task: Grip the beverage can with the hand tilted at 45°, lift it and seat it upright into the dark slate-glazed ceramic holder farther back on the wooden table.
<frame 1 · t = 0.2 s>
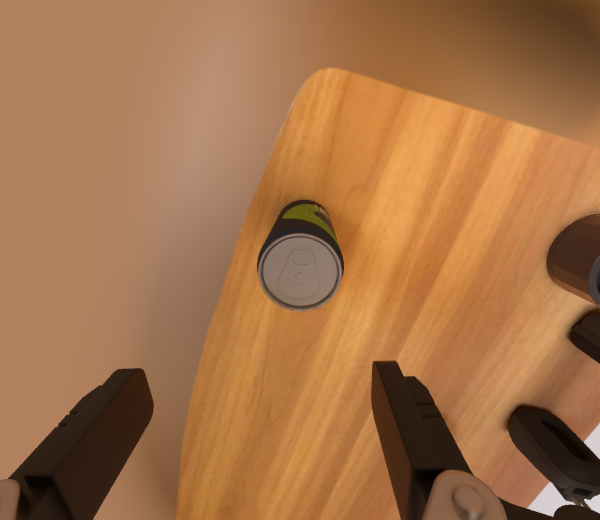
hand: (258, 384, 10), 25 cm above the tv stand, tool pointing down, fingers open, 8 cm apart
beverage can: (303, 225, 34), on the tv stand
holder: (589, 253, 34), on the tv stand
headphones: (557, 375, 40), on the tv stand
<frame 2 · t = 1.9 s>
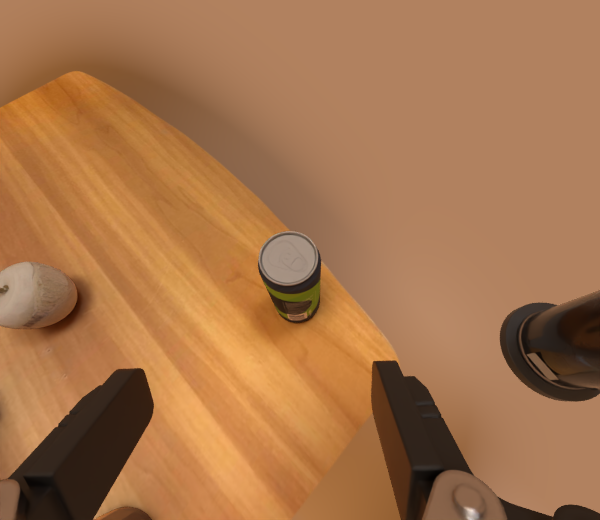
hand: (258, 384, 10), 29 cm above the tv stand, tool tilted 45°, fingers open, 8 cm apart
beverage can: (297, 302, 41), on the tv stand
decorative object: (62, 306, 43), on the tv stand
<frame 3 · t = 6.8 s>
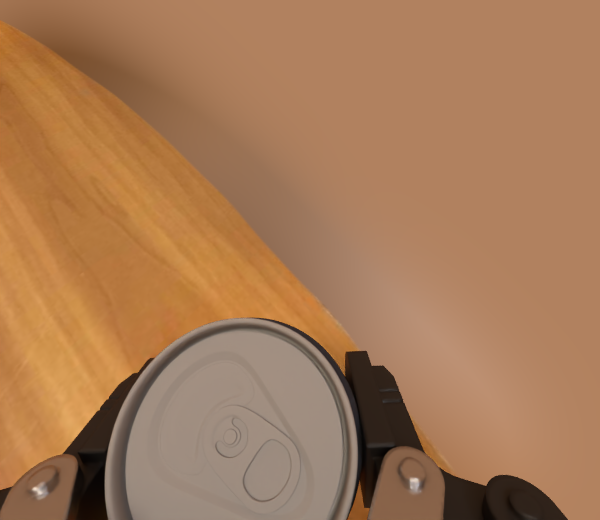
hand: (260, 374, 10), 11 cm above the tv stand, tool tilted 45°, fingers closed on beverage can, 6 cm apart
beverage can: (288, 409, 20), on the tv stand, touching gripper
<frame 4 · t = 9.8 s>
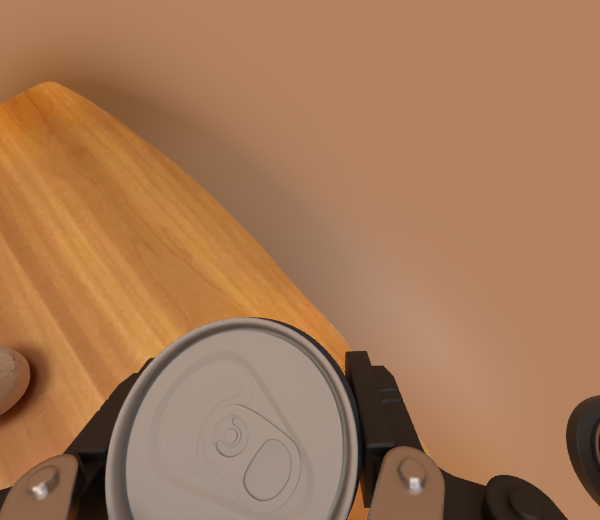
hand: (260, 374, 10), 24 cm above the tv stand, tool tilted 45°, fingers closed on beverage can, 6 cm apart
beverage can: (288, 409, 20), point 13 cm above the tv stand, touching gripper
decorative object: (12, 385, 34), on the tv stand
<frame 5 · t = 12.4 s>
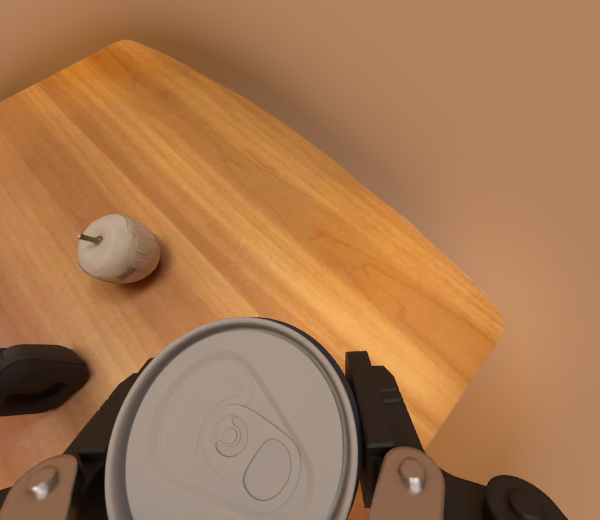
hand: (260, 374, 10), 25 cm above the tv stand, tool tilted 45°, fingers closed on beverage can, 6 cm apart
beverage can: (288, 409, 20), point 14 cm above the tv stand, touching gripper
decorative object: (141, 265, 42), on the tv stand
headphones: (97, 432, 33), on the tv stand
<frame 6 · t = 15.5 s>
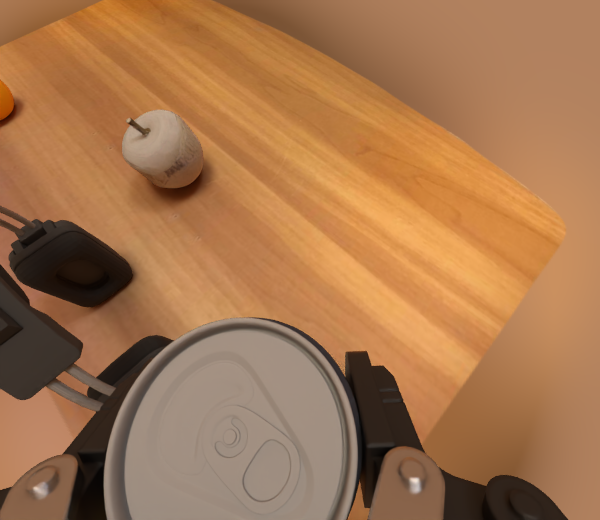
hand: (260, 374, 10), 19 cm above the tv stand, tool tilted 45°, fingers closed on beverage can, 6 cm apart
beverage can: (288, 409, 20), point 8 cm above the tv stand, touching gripper
decorative object: (181, 178, 40), on the tv stand
orange: (0, 115, 48), on the tv stand
headphones: (144, 329, 31), on the tv stand
when the fingers open (12 cm above the tv stand, at t = 18.0 s): beverage can stays where it is, resting on holder.
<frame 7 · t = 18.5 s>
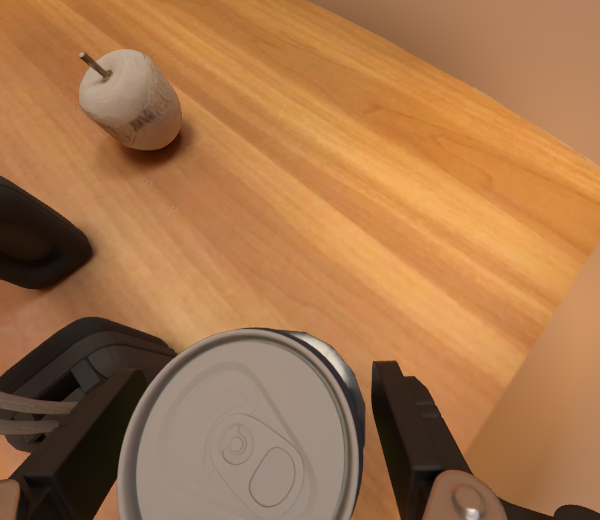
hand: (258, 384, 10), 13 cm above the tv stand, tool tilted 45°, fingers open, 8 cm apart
beverage can: (289, 412, 21), point 1 cm above the tv stand, touching holder
decorative object: (157, 141, 34), on the tv stand
holder: (288, 409, 21), on the tv stand
headphones: (102, 316, 25), on the tv stand
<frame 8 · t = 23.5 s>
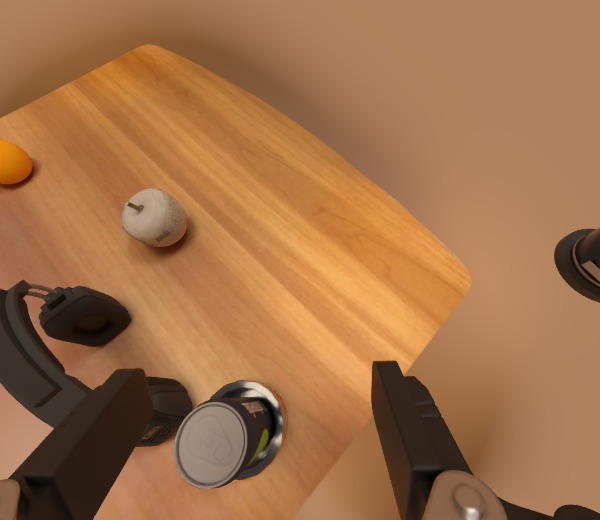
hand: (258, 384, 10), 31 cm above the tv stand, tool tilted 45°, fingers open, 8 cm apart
beverage can: (250, 424, 36), point 1 cm above the tv stand, touching holder
decorative object: (170, 234, 49), on the tv stand
holder: (250, 422, 37), on the tv stand
orange: (20, 175, 57), on the tv stand
headphones: (138, 363, 40), on the tv stand
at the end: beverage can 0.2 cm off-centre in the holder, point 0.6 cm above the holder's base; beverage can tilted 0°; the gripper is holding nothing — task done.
